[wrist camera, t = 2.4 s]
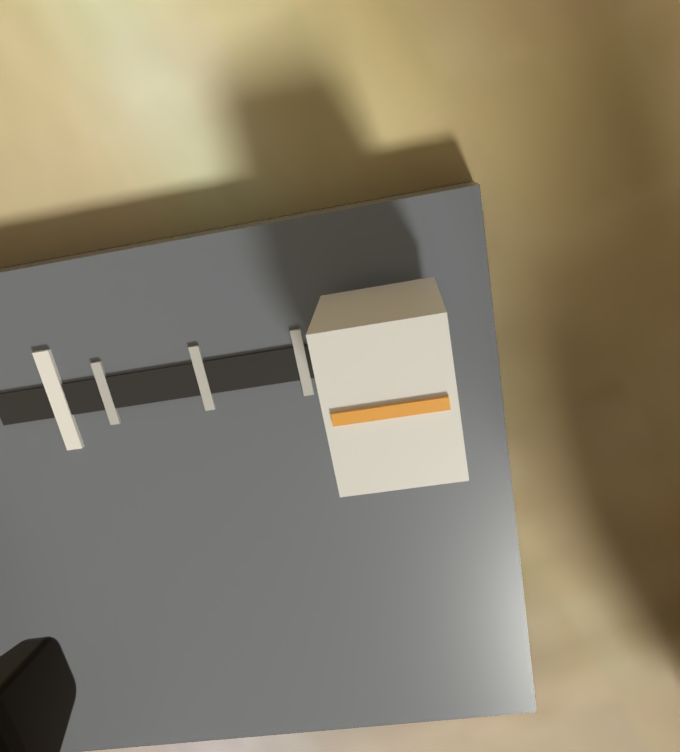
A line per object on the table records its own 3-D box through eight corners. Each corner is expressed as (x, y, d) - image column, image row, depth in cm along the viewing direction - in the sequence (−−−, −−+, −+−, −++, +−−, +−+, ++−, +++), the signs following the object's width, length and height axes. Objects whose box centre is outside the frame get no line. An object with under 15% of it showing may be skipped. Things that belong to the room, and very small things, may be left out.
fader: (432, 272, 17) (447, 313, 13) (451, 408, 19) (469, 482, 15) (322, 290, 18) (305, 336, 14) (348, 423, 19) (339, 499, 15)
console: (473, 181, 18) (509, 200, 13) (531, 701, 24) (571, 855, 19) (-173, 300, 20) (-362, 357, 15) (31, 745, 27) (-53, 892, 21)
